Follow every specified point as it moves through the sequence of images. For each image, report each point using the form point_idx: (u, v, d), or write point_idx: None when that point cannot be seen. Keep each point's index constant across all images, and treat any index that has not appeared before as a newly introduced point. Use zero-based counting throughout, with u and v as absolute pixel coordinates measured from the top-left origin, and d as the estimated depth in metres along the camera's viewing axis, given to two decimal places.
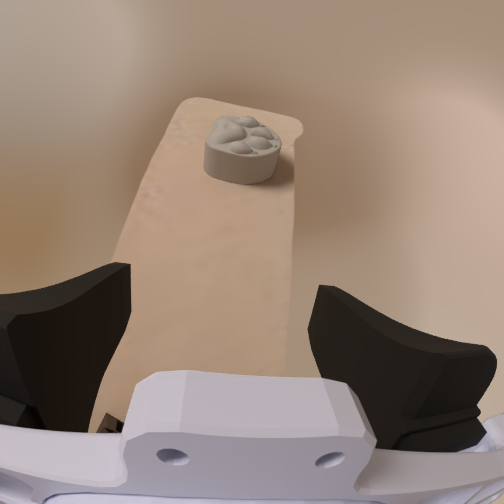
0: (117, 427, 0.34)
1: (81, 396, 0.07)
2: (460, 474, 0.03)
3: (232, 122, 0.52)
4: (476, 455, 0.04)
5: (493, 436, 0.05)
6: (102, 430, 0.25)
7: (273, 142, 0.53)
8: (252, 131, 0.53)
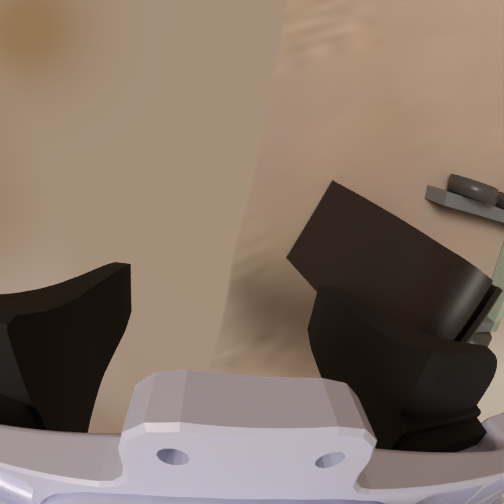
0: None
1: (81, 396, 0.07)
2: (460, 474, 0.03)
3: None
4: (476, 455, 0.04)
5: (493, 436, 0.05)
6: (475, 274, 0.10)
7: None
8: None
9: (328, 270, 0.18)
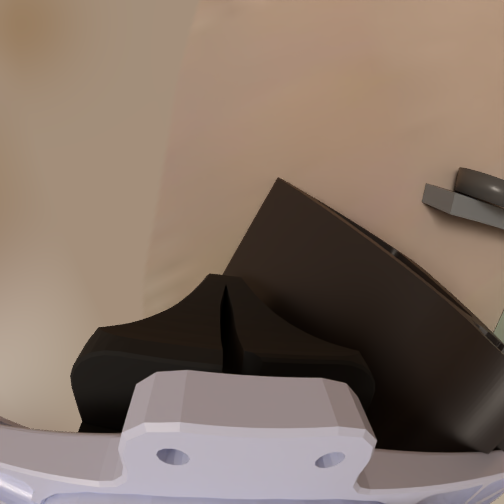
0: None
1: None
2: (460, 474, 0.03)
3: None
4: (476, 455, 0.04)
5: None
6: None
7: None
8: None
9: None
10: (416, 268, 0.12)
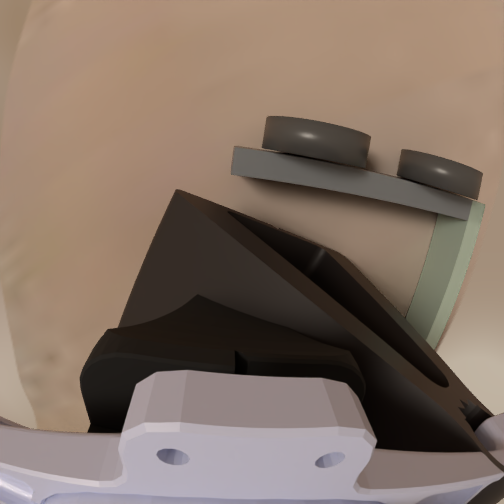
0: None
1: None
2: (460, 474, 0.03)
3: None
4: (476, 455, 0.04)
5: (493, 436, 0.05)
6: None
7: None
8: None
9: None
10: (356, 283, 0.11)
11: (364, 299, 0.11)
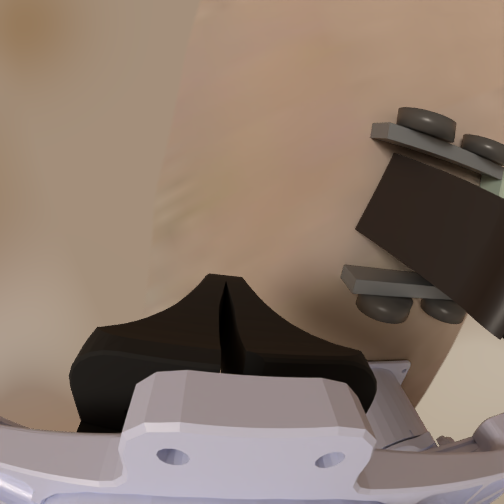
0: None
1: None
2: (460, 474, 0.03)
3: None
4: (476, 455, 0.04)
5: (493, 436, 0.05)
6: None
7: None
8: None
9: (405, 235, 0.17)
10: None
11: None
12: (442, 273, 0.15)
